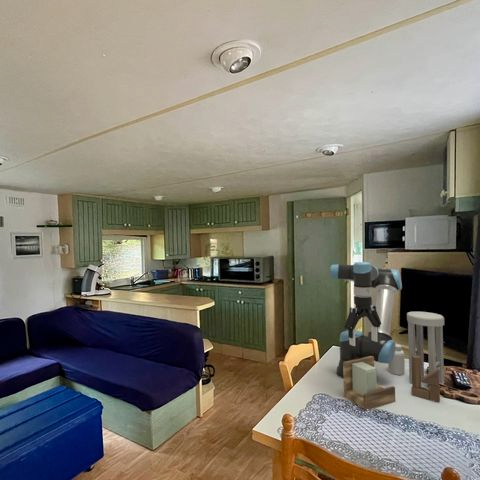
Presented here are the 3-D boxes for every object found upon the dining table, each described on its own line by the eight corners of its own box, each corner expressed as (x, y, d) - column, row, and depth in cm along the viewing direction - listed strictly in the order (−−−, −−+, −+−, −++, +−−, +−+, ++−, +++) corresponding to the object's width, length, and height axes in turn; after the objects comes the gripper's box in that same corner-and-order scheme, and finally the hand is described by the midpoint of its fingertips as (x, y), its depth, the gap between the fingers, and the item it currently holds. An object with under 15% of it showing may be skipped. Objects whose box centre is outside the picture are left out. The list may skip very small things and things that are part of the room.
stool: (403, 382, 147) (401, 313, 148) (416, 375, 156) (415, 310, 157) (437, 395, 134) (435, 319, 136) (450, 385, 143) (448, 315, 145)
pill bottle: (398, 376, 154) (398, 348, 155) (385, 371, 161) (384, 344, 162) (408, 373, 158) (407, 346, 158) (394, 368, 165) (393, 341, 165)
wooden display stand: (343, 396, 133) (343, 361, 134) (372, 389, 141) (371, 355, 141) (365, 410, 122) (365, 372, 122) (395, 401, 129) (394, 365, 129)
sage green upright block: (352, 390, 132) (352, 363, 133) (362, 387, 135) (361, 361, 135) (367, 398, 125) (366, 370, 125) (377, 395, 127) (376, 368, 128)
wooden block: (439, 402, 128) (438, 361, 128) (411, 395, 135) (410, 356, 135) (440, 399, 131) (438, 359, 131) (412, 392, 137) (411, 354, 138)
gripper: (348, 299, 123) (348, 349, 122) (389, 295, 133) (390, 341, 132) (335, 296, 130) (336, 344, 129) (375, 293, 140) (376, 337, 139)
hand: (363, 343), depth 131 cm, fingers open, 13 cm apart
